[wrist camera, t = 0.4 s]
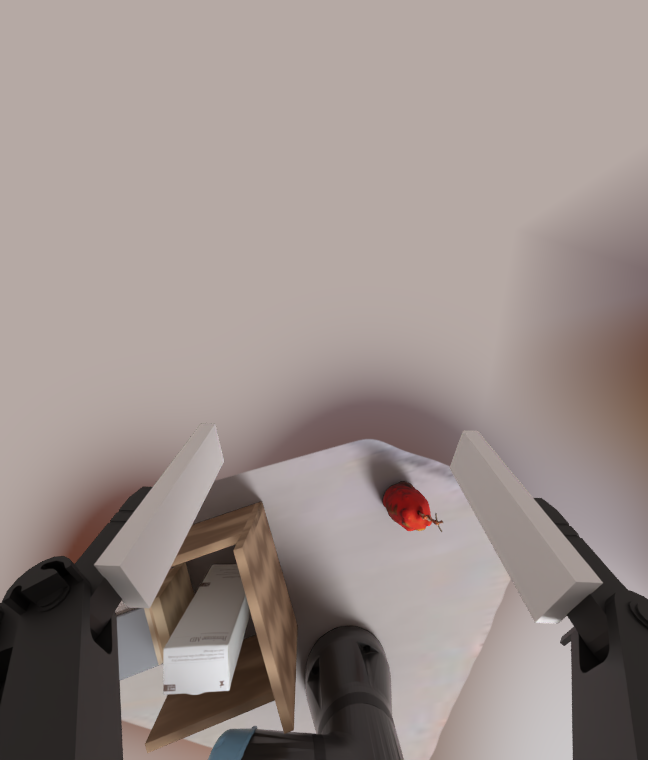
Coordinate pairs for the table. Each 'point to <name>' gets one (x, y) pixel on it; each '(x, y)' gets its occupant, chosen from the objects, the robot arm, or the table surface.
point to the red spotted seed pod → (408, 507)
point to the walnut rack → (258, 653)
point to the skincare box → (208, 636)
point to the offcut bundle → (169, 607)
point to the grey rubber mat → (134, 644)
